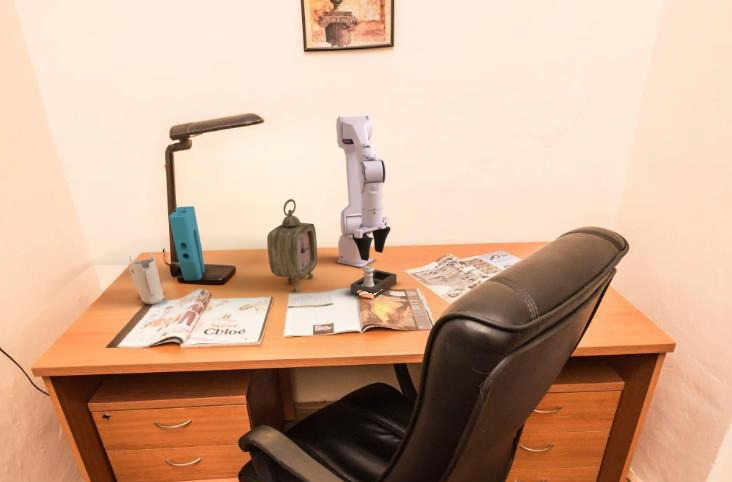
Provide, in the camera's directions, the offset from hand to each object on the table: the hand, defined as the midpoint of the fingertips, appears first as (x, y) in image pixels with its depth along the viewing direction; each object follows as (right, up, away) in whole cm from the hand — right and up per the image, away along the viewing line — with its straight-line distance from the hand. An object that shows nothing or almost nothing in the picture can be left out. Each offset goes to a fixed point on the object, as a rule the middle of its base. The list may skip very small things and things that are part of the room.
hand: (371, 255), depth 138 cm
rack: (+1, -9, +5) cm, 10 cm away
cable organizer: (-63, -12, +1) cm, 64 cm away
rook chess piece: (-1, -10, +2) cm, 11 cm away
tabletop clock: (-23, -7, +9) cm, 25 cm away
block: (-56, -3, +16) cm, 58 cm away
